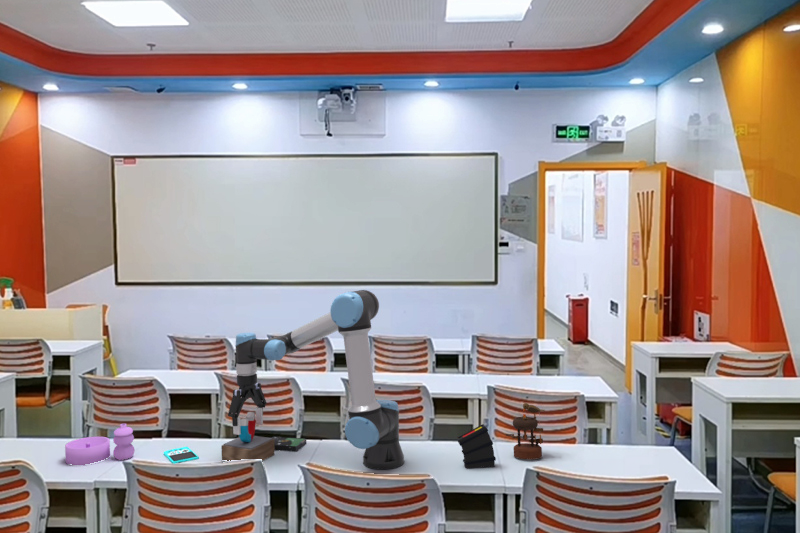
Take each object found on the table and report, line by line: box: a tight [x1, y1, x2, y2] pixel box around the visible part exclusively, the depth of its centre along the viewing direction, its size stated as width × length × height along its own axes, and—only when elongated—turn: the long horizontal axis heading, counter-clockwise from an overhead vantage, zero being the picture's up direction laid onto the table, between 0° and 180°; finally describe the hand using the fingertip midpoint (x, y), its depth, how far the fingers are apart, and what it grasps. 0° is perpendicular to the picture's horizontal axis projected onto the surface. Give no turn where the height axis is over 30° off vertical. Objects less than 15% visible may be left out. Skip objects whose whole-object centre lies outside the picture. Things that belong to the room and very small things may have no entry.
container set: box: [64, 423, 135, 466], centre depth 242 cm, size 25×15×13 cm, turn 92°
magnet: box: [238, 411, 257, 442], centre depth 240 cm, size 12×3×10 cm, turn 175°
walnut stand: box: [221, 435, 276, 461], centre depth 241 cm, size 14×14×6 cm
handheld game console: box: [163, 446, 200, 464], centre depth 244 cm, size 10×16×1 cm, turn 34°
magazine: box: [457, 423, 497, 469], centre depth 228 cm, size 4×13×15 cm, turn 96°
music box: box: [505, 402, 546, 460], centre depth 238 cm, size 15×11×20 cm
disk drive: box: [271, 436, 307, 453], centre depth 254 cm, size 10×3×15 cm
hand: (248, 429), depth 240 cm, fingers open, 13 cm apart
